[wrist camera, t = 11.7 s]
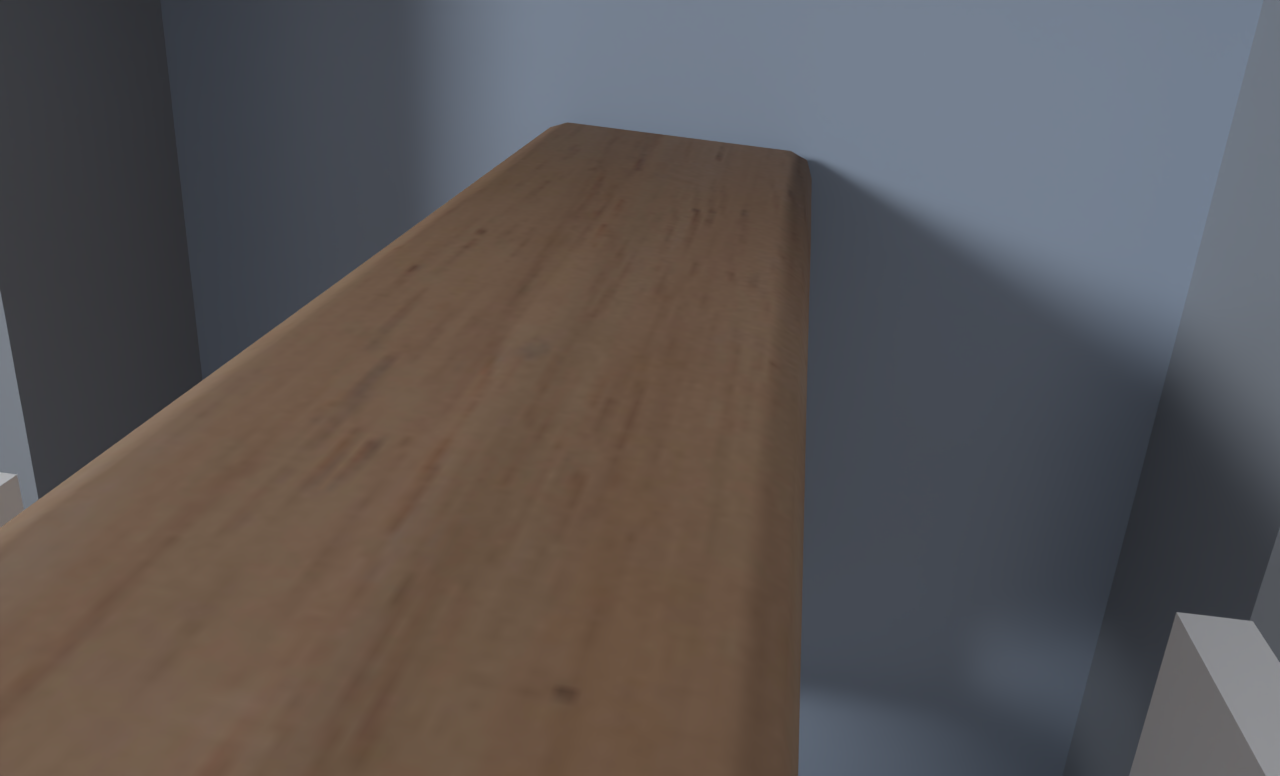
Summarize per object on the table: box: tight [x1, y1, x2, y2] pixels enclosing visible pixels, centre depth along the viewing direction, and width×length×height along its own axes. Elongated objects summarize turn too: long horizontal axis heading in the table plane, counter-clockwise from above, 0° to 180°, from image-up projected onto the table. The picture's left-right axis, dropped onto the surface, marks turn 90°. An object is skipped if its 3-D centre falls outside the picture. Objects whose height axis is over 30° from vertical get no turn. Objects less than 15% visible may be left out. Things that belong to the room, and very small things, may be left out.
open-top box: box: [0, 0, 1280, 776], centre depth 18 cm, size 20×22×6 cm
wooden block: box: [0, 122, 812, 776], centre depth 12 cm, size 9×4×18 cm, turn 174°
